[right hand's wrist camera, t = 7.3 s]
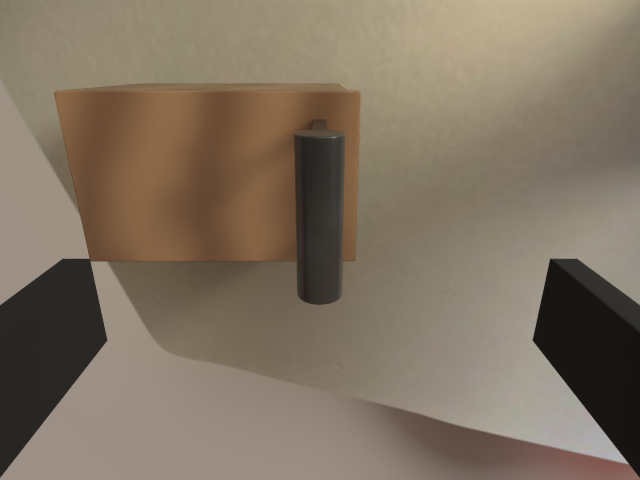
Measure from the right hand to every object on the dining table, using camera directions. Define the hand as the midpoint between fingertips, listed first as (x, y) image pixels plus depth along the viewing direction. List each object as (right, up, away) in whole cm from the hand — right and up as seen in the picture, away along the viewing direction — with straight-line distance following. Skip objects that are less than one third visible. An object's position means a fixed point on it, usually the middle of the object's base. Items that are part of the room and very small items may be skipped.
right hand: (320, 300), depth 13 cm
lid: (-6, +5, +14) cm, 16 cm away
